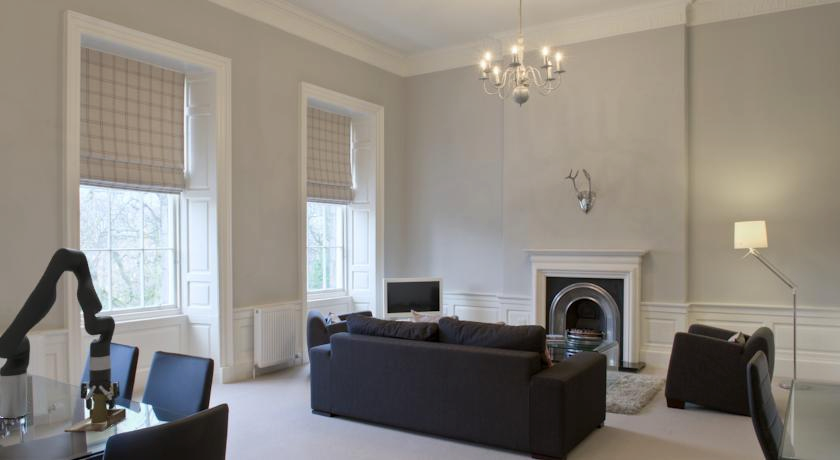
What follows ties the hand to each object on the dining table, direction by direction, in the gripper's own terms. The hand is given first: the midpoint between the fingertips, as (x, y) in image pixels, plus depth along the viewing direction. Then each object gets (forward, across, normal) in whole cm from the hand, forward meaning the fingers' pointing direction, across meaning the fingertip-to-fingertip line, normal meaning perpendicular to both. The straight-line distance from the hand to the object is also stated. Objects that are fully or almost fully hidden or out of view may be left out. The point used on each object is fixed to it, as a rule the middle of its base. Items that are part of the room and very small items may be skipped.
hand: (100, 409), depth 240 cm
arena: (+5, 0, +2) cm, 6 cm away
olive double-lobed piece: (+5, 0, 0) cm, 5 cm away
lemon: (+5, +16, -33) cm, 37 cm away
